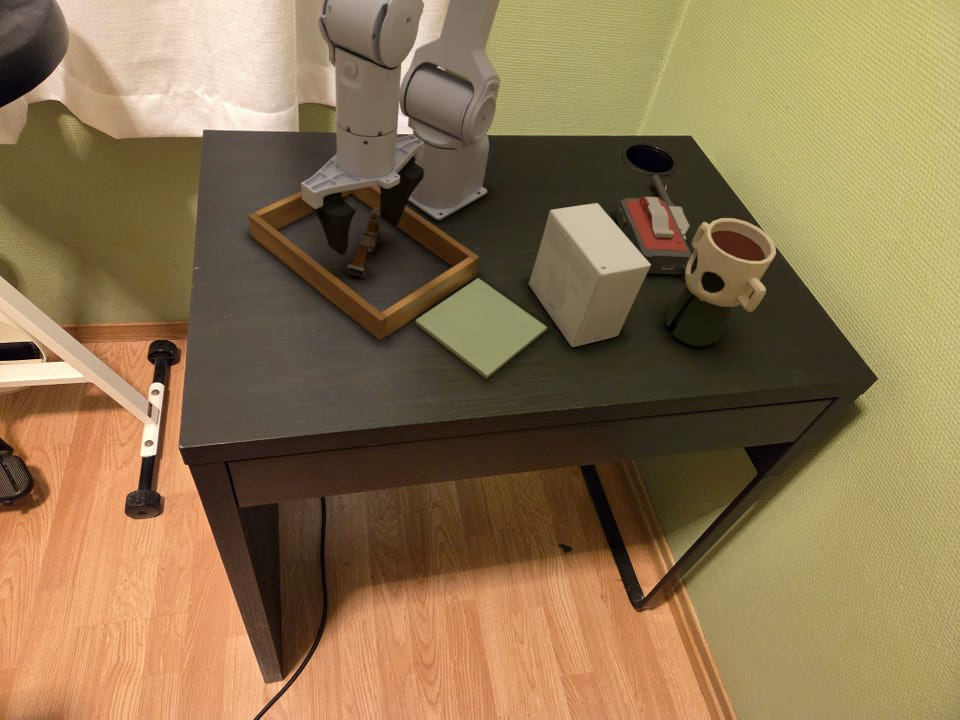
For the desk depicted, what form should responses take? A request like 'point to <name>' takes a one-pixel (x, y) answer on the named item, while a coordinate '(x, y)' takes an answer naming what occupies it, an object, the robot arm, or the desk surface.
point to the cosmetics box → (587, 273)
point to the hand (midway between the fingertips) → (364, 234)
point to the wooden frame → (340, 294)
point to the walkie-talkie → (656, 230)
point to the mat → (481, 327)
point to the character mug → (720, 278)
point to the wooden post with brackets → (366, 244)
